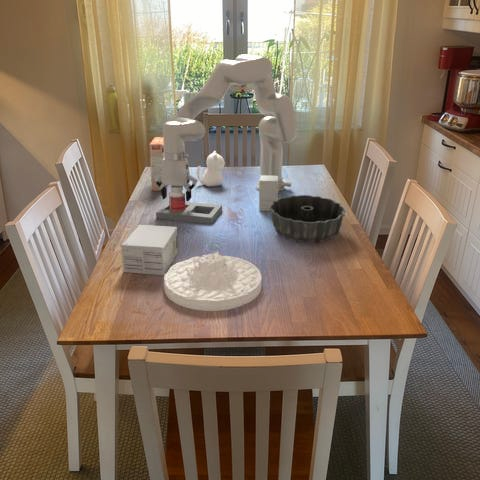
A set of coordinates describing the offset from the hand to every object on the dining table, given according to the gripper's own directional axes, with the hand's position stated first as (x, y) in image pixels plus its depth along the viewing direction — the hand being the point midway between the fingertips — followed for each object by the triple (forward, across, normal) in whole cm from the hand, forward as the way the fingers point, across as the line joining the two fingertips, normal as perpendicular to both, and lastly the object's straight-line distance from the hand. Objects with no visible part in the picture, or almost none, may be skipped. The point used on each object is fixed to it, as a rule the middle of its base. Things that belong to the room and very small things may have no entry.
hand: (176, 199), depth 203 cm
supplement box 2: (+6, -33, -15) cm, 37 cm away
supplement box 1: (+6, -7, +42) cm, 43 cm away
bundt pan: (+6, -51, +7) cm, 52 cm away
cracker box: (+6, +19, -30) cm, 36 cm away
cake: (+6, -30, +52) cm, 61 cm away
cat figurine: (+6, -2, -38) cm, 39 cm away
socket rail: (+6, -5, 0) cm, 8 cm away
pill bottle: (+6, 0, 0) cm, 6 cm away
